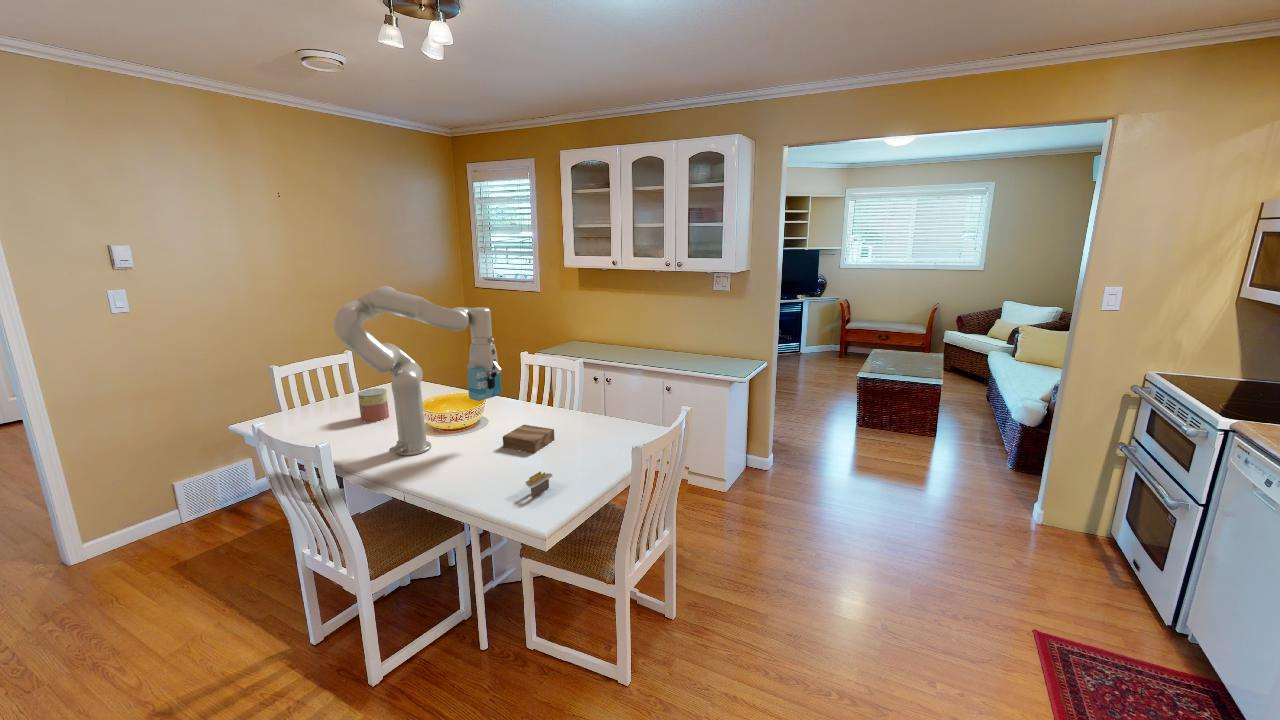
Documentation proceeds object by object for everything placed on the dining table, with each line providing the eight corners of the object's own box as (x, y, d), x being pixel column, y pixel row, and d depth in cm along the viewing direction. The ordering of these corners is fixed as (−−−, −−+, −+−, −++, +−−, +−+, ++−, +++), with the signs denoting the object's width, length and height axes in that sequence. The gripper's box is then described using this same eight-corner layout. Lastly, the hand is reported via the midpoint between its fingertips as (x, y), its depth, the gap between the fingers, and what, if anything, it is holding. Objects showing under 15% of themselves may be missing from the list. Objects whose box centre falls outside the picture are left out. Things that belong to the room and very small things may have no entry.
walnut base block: (534, 454, 204) (534, 441, 203) (503, 448, 209) (502, 436, 208) (554, 441, 216) (554, 429, 215) (524, 436, 222) (523, 424, 220)
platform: (504, 500, 169) (503, 481, 167) (542, 478, 184) (541, 460, 183) (534, 510, 163) (533, 490, 162) (571, 486, 178) (570, 468, 177)
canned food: (361, 416, 244) (358, 390, 241) (389, 412, 249) (386, 387, 246) (360, 424, 234) (357, 397, 231) (389, 420, 239) (386, 393, 236)
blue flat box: (476, 402, 204) (474, 370, 201) (468, 400, 207) (466, 369, 204) (501, 394, 214) (500, 364, 211) (493, 392, 216) (492, 362, 213)
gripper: (507, 340, 206) (509, 387, 210) (469, 337, 211) (472, 382, 216) (495, 344, 199) (498, 392, 203) (456, 340, 205) (459, 387, 209)
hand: (484, 387), depth 209 cm, fingers closed on blue flat box, 5 cm apart
